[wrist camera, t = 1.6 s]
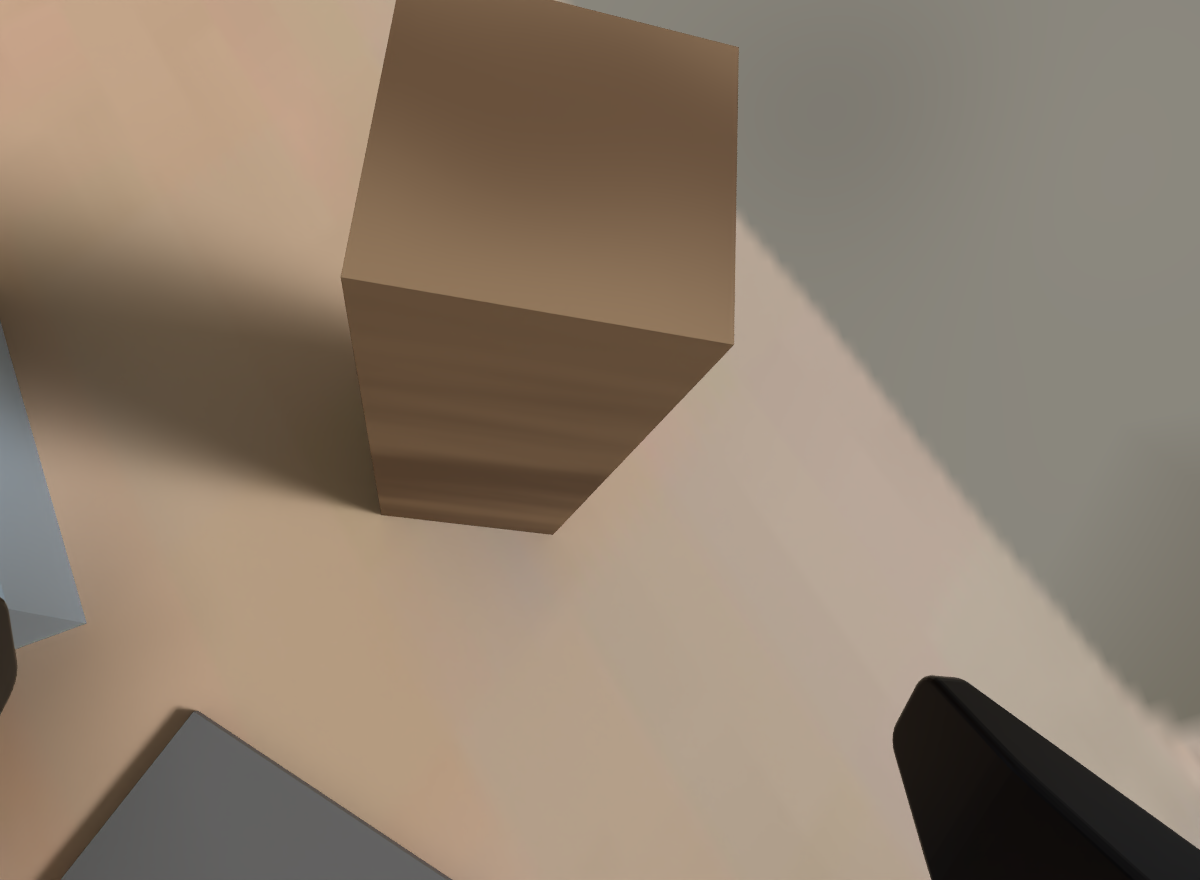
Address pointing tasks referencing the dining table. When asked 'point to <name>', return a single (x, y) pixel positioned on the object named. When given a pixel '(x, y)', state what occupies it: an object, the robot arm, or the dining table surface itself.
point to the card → (236, 823)
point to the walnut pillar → (536, 252)
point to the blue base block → (29, 528)
